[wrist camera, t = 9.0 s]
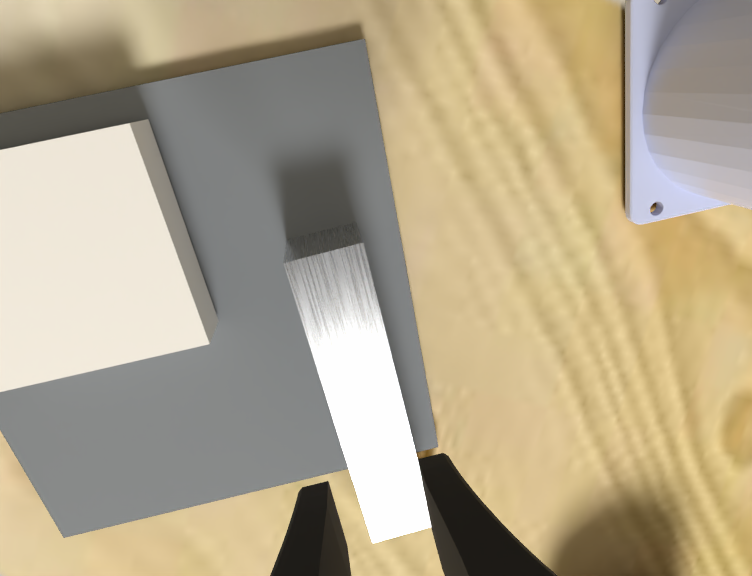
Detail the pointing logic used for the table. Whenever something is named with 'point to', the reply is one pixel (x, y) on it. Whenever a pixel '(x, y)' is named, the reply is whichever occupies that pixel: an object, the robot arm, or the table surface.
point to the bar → (358, 376)
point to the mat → (226, 294)
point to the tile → (94, 258)
